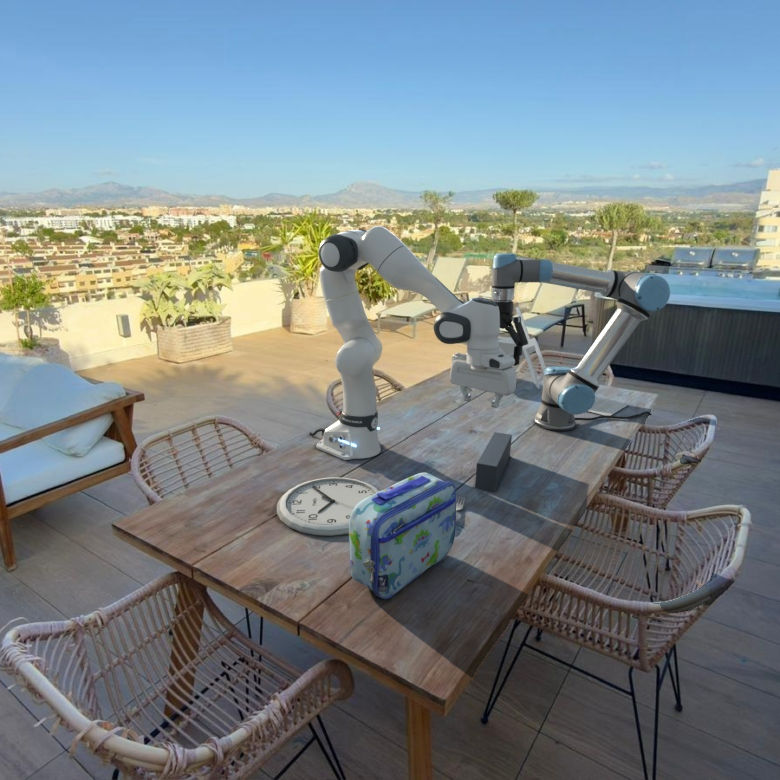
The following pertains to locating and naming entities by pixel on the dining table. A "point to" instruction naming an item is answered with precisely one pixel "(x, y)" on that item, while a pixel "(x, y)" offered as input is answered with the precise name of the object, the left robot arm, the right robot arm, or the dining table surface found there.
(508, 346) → the white plastic object
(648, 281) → the right robot arm
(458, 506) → the fork
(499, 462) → the bar
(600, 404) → the invitation card
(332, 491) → the wall clock
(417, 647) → the dining table surface
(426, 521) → the lunch box
